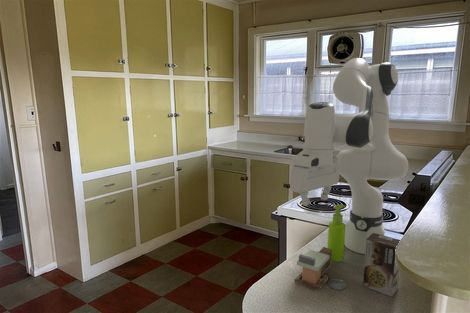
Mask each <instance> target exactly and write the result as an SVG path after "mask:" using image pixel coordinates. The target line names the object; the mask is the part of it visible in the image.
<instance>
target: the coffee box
mask: <svg viewBox="0 0 470 313" xmlns="http://www.w3.org/2000/svg"><path fill="white" fill-rule="evenodd" d="M384 235H385V234H384ZM384 235H380V234H376V233H373V234H371V235H370V236H369V237H368V238H367V239H366V248H365V254H364V264H363V276H362V277H363V279H362V286H363V287H365V288H367V289H371V290H372V291H373V290H374V291H376V292H379V293H381V294H384V295H387V296H389V297H393V296H394V294H395V293H396V292H397V290H398V289H399V288H398V287H399V280H400V279H399V277H400V269H399V268H398V267H397V265H396V263H395V249H396V246H397V245H398V243H399V241H400V240H401V239H397V238H396V237H395V238H394V237H391V236H388V235H386V236H384ZM387 236H388V237H387Z"/></svg>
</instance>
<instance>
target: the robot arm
mask: <svg viewBox="0 0 470 313" xmlns="http://www.w3.org/2000/svg"><path fill="white" fill-rule="evenodd" d="M398 80H399V74H398V70H397V68H396V66H395V64H393V63H392V62H381V63H378V64H371V65H370V64H369V63H368V62H367V61H366V60H365V59H363V58H360V57H354V58H351V59H350V60H348V61H346V62H345V64H344V65H343V66H342V67H341V68H340V70H339V71H338V73H337V75H336V77H335V79H334V81H333V84H332V85H333V86H332V91H333V94H334V97H336V99H337V100H338V101H339V102H341V103H342V104H346V105H349V106H353V107H357V108H358V112H356V113H336V112H335V111H336V110H335V105H334V103H331V102H326V101H320V102H312V103H310V104H309V105H308V106H307V108H306V113H305V117H304V118H305V119H304V125H303V126H304V127H303V134H304V143H303V146H302V147H303V148H302V150H301V151H299V153H298V154H295V155H294V156H293V157H292V158H291V165H293V166H292V168H291V170H290V182H289V183H290V189H291V190H292V192H293V193H298V194H299V196H300V198H301V205H302V206H305V207H306V206H307V207H308V206H310V204H311V199H309V197H308V195H309V192H311V191H316V190H318V189H322V188H323V189H322V193H320V199H321V200H322V201H326V200H328V199H329V194H330V191H331V189H332V186H333V185H337V184H338V183H339V182H340V176H342V177H343V178H344V179H345V181H346V182H347V184H348V185H349V188H350V191H351V210H349V211H350V212H349V220H348V221H347V222H345V225H346V229H345V243H344V247H346V249H349V251H352V252H354V253H357V254H363V255H365V248H366V239H367V238H368V237H369V236H370V235H371V234H373V233H376V234H380V235H384V236H387V237H389V236H388V235H386V233H385V228H386V227H385V225H384V224H383V223H384V217H383V214H384V212H383V203H384V196H383V194H382V192H381V191H380V190H379V189H378V188H376V187H374V186H372V185H371V184H369V183H368V181H367V180H379V181H380V180H381V181H396V180H397V181H398V180H402V179H403V178H404V177H405V176H406V175H407V174H408V171H409V161H408V159H407V157H406V156H405V154H404V153H402V152H400V150H399V149H397V148H396V147H395V145H394V144H393V143H392V141H391V138H390V132H389V120H390V117H389V116H390V110H389V101H388V98H387V97H388V96H390V95H391V93H392V91H394V89H395V88H396V86H397V85H398ZM366 145H368V146H370V147H371V148H372V149H363V147H365V146H366ZM335 146H346V147H347V146H348V147H352V148H350V149H342V150H340V151H339V152H338V154H336V155H335V154H334V152H335V151H334V150H335Z"/></svg>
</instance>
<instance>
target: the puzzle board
mask: <svg viewBox="0 0 470 313" xmlns="http://www.w3.org/2000/svg"><path fill="white" fill-rule="evenodd" d="M318 252H320V253H323V254H327V255H330V257H329V260H328V261H327V262H326V263H325V264H324V265H323V266H322V267H321V279H320V281H319V282H318V283H317V285H315V284H312V283H309V282H306V281H303V280H302V272H300V273H299V275H297V276H296V277H295V279H294V283H295V284H298V285H301V286H304V287H306V288H310V289H313V290H315V291H320V289H321V288H322V286H323V285H324V284H325V283H326V282H327V281H328V275H325V274H324V273H325V272H326V271H327V270H328V268H330V266H331V264H332V260H331V255H332V249H329V248H327V247H326V246H323V247H322V248H321V249H320V250H319V251H318Z"/></svg>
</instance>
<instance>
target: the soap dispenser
mask: <svg viewBox="0 0 470 313" xmlns="http://www.w3.org/2000/svg"><path fill="white" fill-rule="evenodd" d="M346 207H347V205H344V204H340V203H339V204H337V205H335V206H334V207H333V209H334V210H335V212H334V214H332V221H330V222H328V230H327V231H328V233H327V247H326V248H329V249H332V255H331V262H342V261H343V260H344V257H345V256H344V254H345V253H344V252H345V244H344V243H345V229H346V223H344V222H343V217H344V216H343V214H341V210H342V209H343V208H346Z"/></svg>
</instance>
